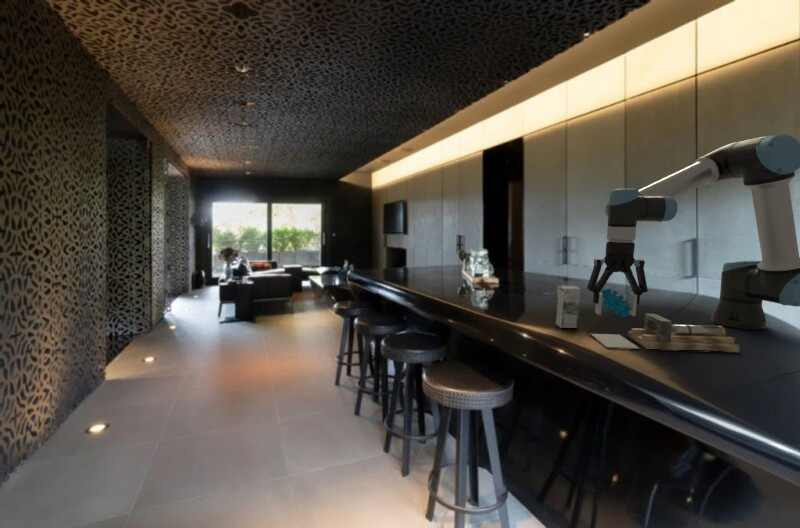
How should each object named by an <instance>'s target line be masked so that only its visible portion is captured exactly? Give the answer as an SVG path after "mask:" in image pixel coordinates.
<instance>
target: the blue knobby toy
mask: <svg viewBox="0 0 800 528" xmlns="http://www.w3.org/2000/svg"><path fill="white" fill-rule="evenodd" d="M601 293H602V294H603V295H602V304H604V305H608V306H606V307H605V308H604V309H603V310H602V312H604V313H607V312H609V311H612V310H615V311H614V312H613V314H614V315H616V316H619V315H620V316H621V318H626V317H627V316H630V312H629V311H630V310H631V308H630V307H629V303H630V299H627V300H624V298H625V297H624V296H623V295H622V294H620V295H619V296H618V291H617V290H616V289H614V290H612V289H611V288H606V289H602V290H601Z"/></svg>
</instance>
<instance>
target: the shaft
mask: <svg viewBox="0 0 800 528" xmlns="http://www.w3.org/2000/svg"><path fill="white" fill-rule="evenodd" d="M726 334H727V330H726V328H725V326H724V325H704V324H703V325H700V324H699V325H697V324H696V325H695V324H694V325H692V324H672V329H671V335H682V336H717V337H726Z"/></svg>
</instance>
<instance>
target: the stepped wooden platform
mask: <svg viewBox="0 0 800 528" xmlns="http://www.w3.org/2000/svg"><path fill="white" fill-rule="evenodd" d="M643 322H644V324H643V328H640V327H639V328H635V327H632V328H631V329H630V330H628V331H627V332H628V333H627V338H628V337H630V338H631V339H630V338H629V339H630V340H632V339H633V340H635V341H636V342H638V343H639V344H641V345H642V346H641V345H640V346H641V347H643V346H644V347H645V348H644V347H643V348H644V349H645V350H647V349H661V350H660V351H678V350H714V351H723V352H722V353H740V347H741V346H740V345H739V344H738V343H737V344H736V343H735V342H736V341H735V340H736V337H732V336H725V337H717V336H682V335H671V329H672V325H673V321H672V320H669V319H667V318H666V317H663V316H661V315H659V314H656V313H644V321H643ZM633 340H632V341H633ZM635 341H634V342H635ZM636 342H635V343H636ZM638 343H637V344H638ZM639 344H638V345H639Z"/></svg>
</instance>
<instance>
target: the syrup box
mask: <svg viewBox="0 0 800 528" xmlns="http://www.w3.org/2000/svg"><path fill="white" fill-rule="evenodd" d="M556 292H557V294H556V295H557V296H556V313H555V325H556V326H557V327H558V326H559V327H558V328H560V329H561V328H578V327H579V315H580V314H579V313H580V302H581V301H580V299H581V288H580V287H578V286H576V285H557V291H556ZM578 329H579V328H578Z"/></svg>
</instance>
